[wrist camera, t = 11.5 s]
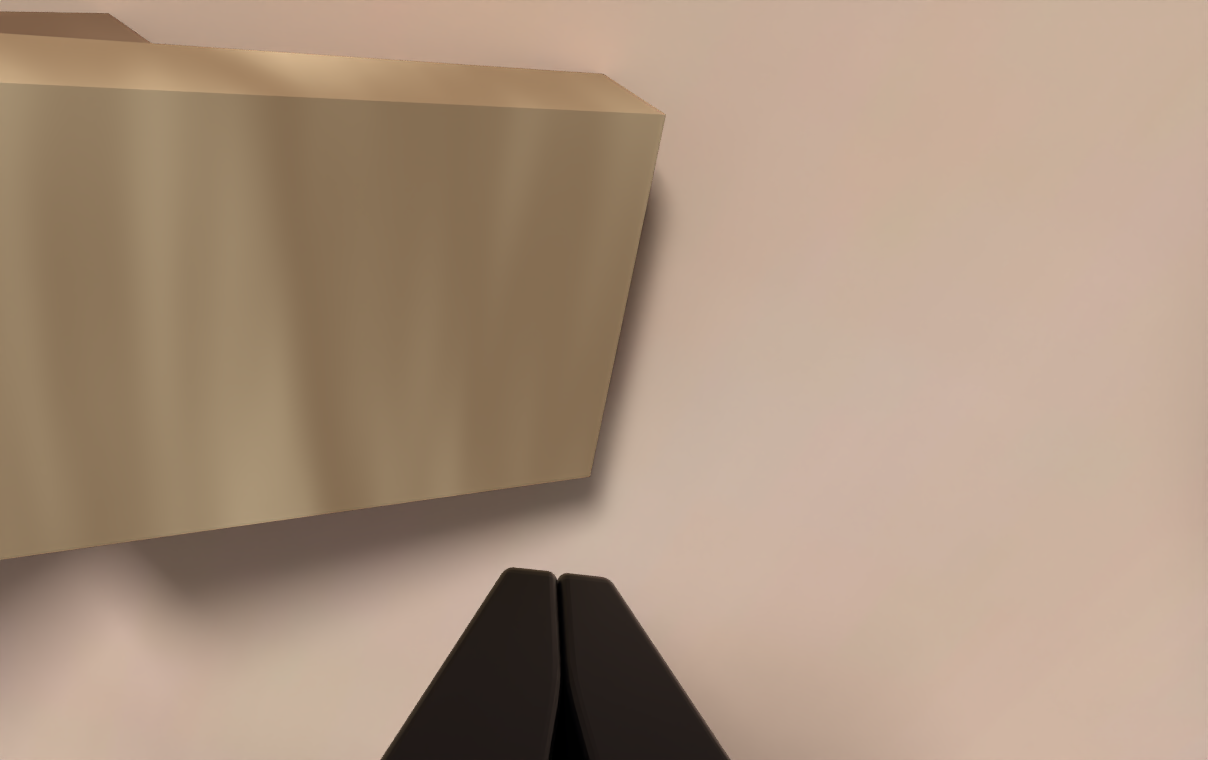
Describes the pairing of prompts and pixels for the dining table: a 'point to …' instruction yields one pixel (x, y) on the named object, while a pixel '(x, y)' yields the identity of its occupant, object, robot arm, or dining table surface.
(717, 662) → the dining table surface
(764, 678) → the dining table surface
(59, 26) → the domino
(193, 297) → the domino
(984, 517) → the dining table surface
